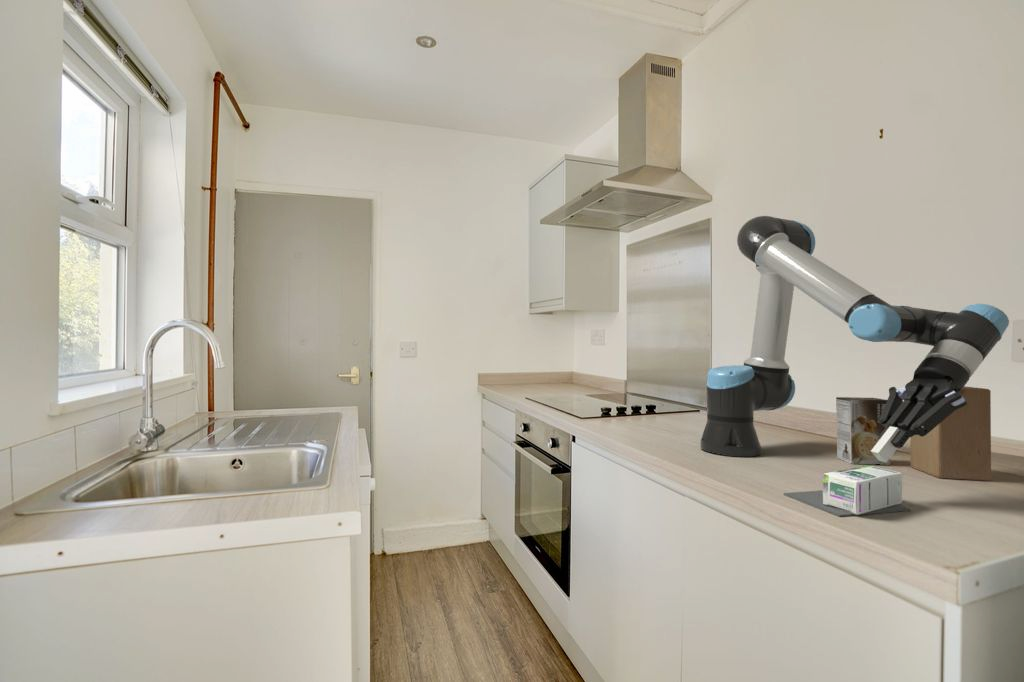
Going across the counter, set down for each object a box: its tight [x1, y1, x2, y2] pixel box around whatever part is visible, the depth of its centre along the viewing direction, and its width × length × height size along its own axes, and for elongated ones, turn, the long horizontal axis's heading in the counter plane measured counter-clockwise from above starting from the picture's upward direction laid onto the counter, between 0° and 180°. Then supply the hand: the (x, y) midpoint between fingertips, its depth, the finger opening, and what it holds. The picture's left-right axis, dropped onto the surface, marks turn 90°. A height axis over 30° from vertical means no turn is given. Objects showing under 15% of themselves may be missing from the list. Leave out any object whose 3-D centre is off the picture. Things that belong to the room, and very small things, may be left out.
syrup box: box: [822, 464, 903, 516], centre depth 84 cm, size 6×6×14 cm
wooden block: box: [910, 385, 992, 482], centre depth 106 cm, size 10×10×20 cm
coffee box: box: [835, 396, 891, 466], centre depth 117 cm, size 9×6×16 cm
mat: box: [783, 489, 911, 518], centre depth 86 cm, size 15×12×1 cm
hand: (878, 456), depth 88 cm, fingers closed
